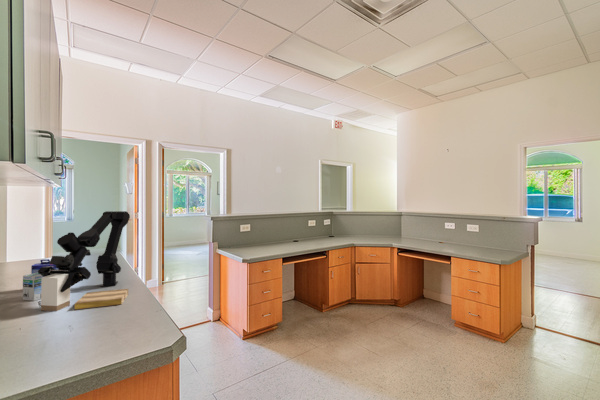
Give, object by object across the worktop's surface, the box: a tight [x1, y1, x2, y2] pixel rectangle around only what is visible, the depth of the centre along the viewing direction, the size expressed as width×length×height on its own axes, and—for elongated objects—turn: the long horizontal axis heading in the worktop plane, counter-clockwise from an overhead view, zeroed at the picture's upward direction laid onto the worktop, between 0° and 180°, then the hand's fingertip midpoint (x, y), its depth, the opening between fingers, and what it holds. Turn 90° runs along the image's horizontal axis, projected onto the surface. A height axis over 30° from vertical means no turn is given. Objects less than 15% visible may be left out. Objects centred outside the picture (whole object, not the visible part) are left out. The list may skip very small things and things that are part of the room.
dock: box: [74, 288, 129, 310], centre depth 122 cm, size 14×16×2 cm
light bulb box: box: [22, 272, 43, 302], centre depth 127 cm, size 11×7×11 cm, turn 168°
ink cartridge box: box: [30, 259, 58, 274], centre depth 140 cm, size 10×6×14 cm, turn 112°
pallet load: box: [40, 274, 71, 312], centre depth 114 cm, size 6×6×13 cm
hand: (52, 291), depth 113 cm, fingers closed on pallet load, 7 cm apart
